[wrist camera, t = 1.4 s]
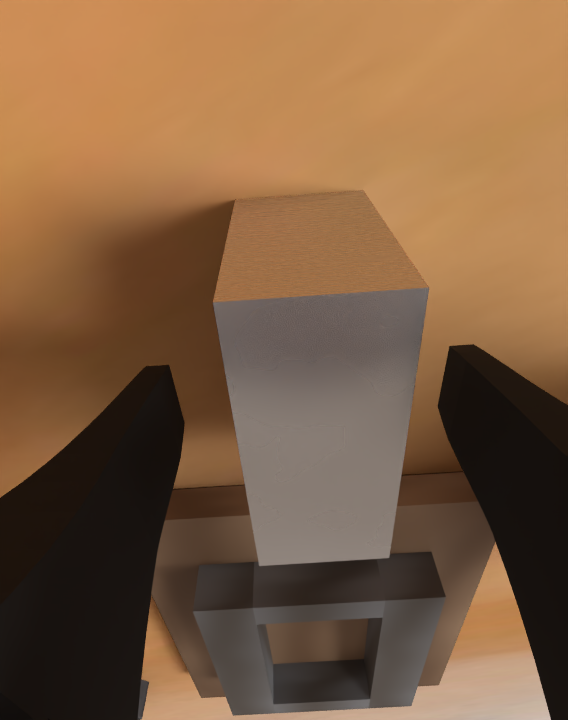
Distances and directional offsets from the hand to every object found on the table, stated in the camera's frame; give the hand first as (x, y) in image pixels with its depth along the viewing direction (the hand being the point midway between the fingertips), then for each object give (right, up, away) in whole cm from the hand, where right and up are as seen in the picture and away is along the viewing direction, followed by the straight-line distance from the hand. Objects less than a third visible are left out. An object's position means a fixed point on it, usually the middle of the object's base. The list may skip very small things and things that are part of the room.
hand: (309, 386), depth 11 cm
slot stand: (+1, -13, +13) cm, 18 cm away
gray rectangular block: (0, +2, +3) cm, 3 cm away
